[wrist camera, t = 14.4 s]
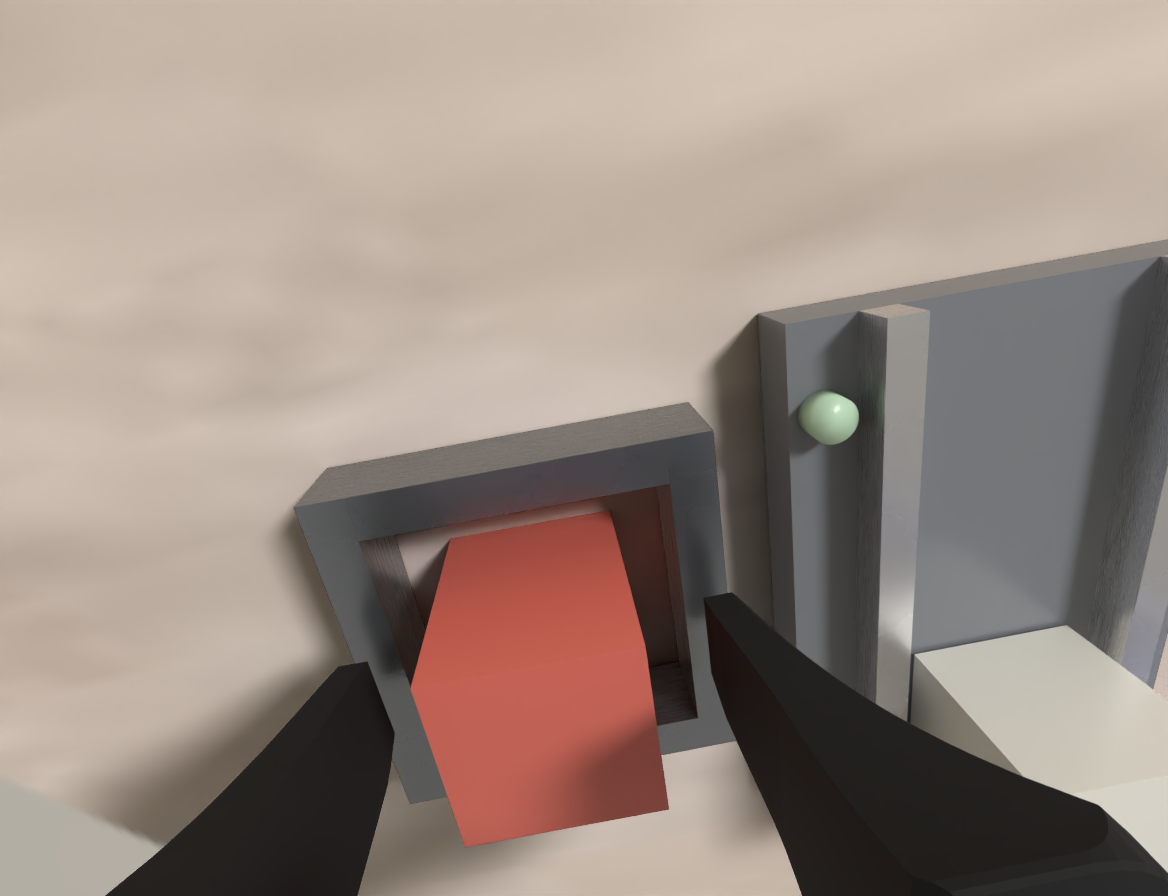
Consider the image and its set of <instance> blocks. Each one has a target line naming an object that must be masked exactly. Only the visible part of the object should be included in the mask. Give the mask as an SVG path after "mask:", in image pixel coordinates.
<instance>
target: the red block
mask: <svg viewBox="0 0 1168 896" xmlns="http://www.w3.org/2000/svg"><path fill="white" fill-rule="evenodd" d="M411 692H412V695H413V698H414V701H415V703H416V706H417V709H418V712H419V715H420V718H421V721H422V724H423V727H424V730H425V732H426V735H427V738H428V741H429V744H430V747H431V750H432V753H433V756H434V759H435V761H436V764H437V767H438V770H439V773H440V776H441V779H442V782H443V785H444V787H445V790H446V793H447V796H448V799H449V802H450V805H451V808H452V811H453V814H454V816H455V819H456V822H457V825H458V828H459V831H460V834H461V837H462V840H463V843H464V845H465V847H470V846H475V845H480V844H486V843H491V842H496V841H502V840H507V839H513V838H518V837H523V836H529V835H534V834H539V833H545V832H550V831H555V830H561V829H566V828H572V827H577V826H582V825H588V824H593V823H598V822H604V821H609V820H615V819H620V818H625V817H631V816H636V815H641V814H647V813H652V812H657V811H663V810H668V809H669V806H668V799H667V792H666V785H665V778H664V771H663V764H662V757H661V750H660V743H659V737H658V730H657V723H656V716H655V709H654V702H653V695H652V688H651V681H650V674H649V667H648V660H647V653H646V646H645V642H644V639H643V635H642V631H641V627H640V623H639V620H638V616H637V612H636V608H635V605H634V601H633V597H632V593H631V589H630V586H629V582H628V578H627V574H626V570H625V567H624V563H623V559H622V555H621V551H620V548H619V544H618V540H617V536H616V532H615V529H614V525H613V521H612V517H611V513H610V511H604V512H598V513H593V514H587V515H581V516H576V517H570V518H565V519H559V520H553V521H548V522H542V523H536V524H531V525H525V526H520V527H514V528H508V529H503V530H497V531H491V532H486V533H480V534H475V535H469V536H463V537H458V538H452V539H450V543H449V546H448V550H447V554H446V558H445V561H444V565H443V569H442V573H441V576H440V580H439V584H438V588H437V591H436V595H435V599H434V603H433V606H432V610H431V614H430V618H429V621H428V625H427V629H426V633H425V636H424V640H423V644H422V648H421V651H420V655H419V659H418V663H417V666H416V670H415V674H414V678H413V681H412V685H411Z"/></svg>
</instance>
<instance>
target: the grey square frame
mask: <svg viewBox="0 0 1168 896" xmlns="http://www.w3.org/2000/svg"><path fill="white" fill-rule="evenodd" d="M650 487H656V488H657V496H658V504H659V511H660V519H661V527H662V534H663V542H664V550H665V557H666V565H667V573H668V580H669V588H670V596H671V603H672V611H673V619H674V626H675V634H676V642H677V649H678V657H679V662H675V663H669V664H664V665H659V666H654V667H649V674H650V681H651V688H652V695H653V702H654V709H655V716H656V723H657V730H658V737H659V743H660V750H661V755H665V754H670V753H676V752H681V751H686V750H691V749H696V748H701V747H707V746H712V745H717V744H722V743H727V742H732V741H736V738H735V736H734V734H733V732H732V730H731V727H730V725H729V723H728V721H727V719H726V716H725V713H724V710H723V707H722V704H721V701H720V698H719V695H718V692H717V689H716V686H715V683H714V680H713V677H712V674H711V666H710V656H709V647H708V637H707V628H706V618H705V609H704V599H703V598H704V597H710V596H715V595H720V594H726V593H727V583H726V572H725V560H724V548H723V537H722V525H721V514H720V502H719V491H718V479H717V468H716V456H715V444H714V433H713V429H712V428H711V427H710V426H709V425H708V424H707V423H706V422H705V420H704V419H703V418H702V417H701V416H700V415H699V414H698V412H697V411H696V410H695V409H694V408H693V407H692V406H691V405H690V403H689V402H686V403H681V404H676V405H670V406H665V407H659V408H654V409H648V410H643V411H637V412H632V413H626V414H621V415H615V416H610V417H605V418H599V419H594V420H588V421H583V422H577V423H572V424H566V425H561V426H555V427H550V428H545V429H539V430H534V431H528V432H523V433H517V434H512V435H506V436H501V437H495V438H490V439H484V440H479V441H474V442H468V443H463V444H457V445H452V446H446V447H441V448H435V449H430V450H424V451H419V452H413V453H408V454H403V455H397V456H392V457H386V458H381V459H375V460H370V461H364V462H359V463H353V464H348V465H342V466H337V467H332V468H327V469H326V470H325V471H324V472H323V474H322V475H321V476H320V477H319V478H318V479H317V481H316V482H315V483H314V484H313V485H312V486H311V488H310V489H309V490H308V491H307V492H306V493H305V495H304V496H303V497H302V498H301V499H300V500H299V502H298V503H297V504H296V505H295V506H294V507H293V508H294V510H295V513H296V515H297V518H298V521H299V523H300V526H301V528H302V531H303V533H304V536H305V538H306V541H307V543H308V546H309V548H310V551H311V554H312V556H313V559H314V561H315V564H316V566H317V569H318V571H319V574H320V576H321V579H322V581H323V584H324V587H325V589H326V592H327V594H328V597H329V599H330V602H331V604H332V607H333V609H334V612H335V614H336V617H337V620H338V622H339V625H340V627H341V630H342V632H343V635H344V637H345V640H346V642H347V645H348V648H349V650H350V653H351V655H352V658H353V660H354V663H355V664H356V663H361V662H366V661H368V664H369V667H370V669H371V672H372V674H373V677H374V680H375V682H376V685H377V688H378V690H379V693H380V695H381V698H382V701H383V703H384V706H385V708H386V711H387V714H388V716H389V719H390V722H391V724H392V727H393V729H394V732H395V737H394V745H393V753H392V759H393V762H394V764H395V767H396V769H397V772H398V775H399V777H400V780H401V782H402V785H403V787H404V790H405V792H406V795H407V797H408V800H409V802H410V804H413V803H418V802H423V801H428V800H433V799H438V798H443V797H448V796H447V793H446V790H445V787H444V785H443V782H442V779H441V776H440V773H439V770H438V767H437V764H436V761H435V759H434V756H433V753H432V750H431V747H430V744H429V741H428V738H427V735H426V732H425V730H424V727H423V724H422V721H421V718H420V715H419V712H418V709H417V706H416V703H415V701H414V698H413V695H412V692H411V685H412V681H413V678H414V674H415V670H416V666H417V663H418V659H419V655H420V651H421V648H422V644H423V640H424V636H425V633H426V630H425V627H424V624H423V621H422V618H421V615H420V612H419V609H418V606H417V603H416V600H415V597H414V594H413V591H412V588H411V585H410V581H409V578H408V575H407V572H406V569H405V566H404V563H403V560H402V557H401V554H400V551H399V548H398V545H397V542H396V539H395V536H394V535H397V534H402V533H408V532H413V531H418V530H424V529H429V528H435V527H440V526H445V525H451V524H456V523H462V522H467V521H472V520H478V519H483V518H488V517H494V516H499V515H505V514H510V513H515V512H521V511H526V510H532V509H537V508H542V507H548V506H553V505H559V504H564V503H569V502H575V501H580V500H585V499H591V498H596V497H602V496H607V495H612V494H618V493H623V492H629V491H634V490H639V489H645V488H650Z"/></svg>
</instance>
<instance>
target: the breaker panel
mask: <svg viewBox="0 0 1168 896" xmlns="http://www.w3.org/2000/svg"><path fill="white" fill-rule="evenodd" d="M758 326H759V345H760V364H761V384H762V403H763V422H764V441H765V460H766V480H767V499H768V518H769V537H770V557H771V576H772V595H773V614H774V630H775V631H776V632H777V633H779V634H780V635H781V636H782V637H783V638H785V639H786V640H787V641H788V642H790V643H791V644H792V645H793V646H795V647H796V648H797V649H798V650H800V651H801V652H802V653H803V654H805V655H806V656H807V657H808V658H810V659H811V660H812V661H814V662H815V663H816V664H818V665H819V666H820V667H822V668H823V669H825V670H826V671H827V672H829V673H830V674H832V675H833V676H834V677H836V678H837V679H839V680H840V681H841V682H843V683H844V684H846V685H847V686H849V687H850V688H852V689H853V690H855V691H856V692H858V693H859V694H861V695H862V696H864V697H866V698H867V699H869V700H870V701H872V702H874V703H875V704H877V705H879V706H880V707H882V708H884V709H885V710H887V711H889V712H890V713H892V714H894V715H896V716H897V717H899V718H901V719H903V720H905V721H906V722H908V723H910V719H911V702H912V686H913V669H914V654H919V653H924V652H929V651H934V650H939V649H945V648H950V647H955V646H960V645H965V644H971V643H976V642H981V641H986V640H991V639H997V638H1002V637H1007V636H1012V635H1017V634H1023V633H1028V632H1033V631H1038V630H1043V629H1049V628H1054V627H1059V626H1064V625H1067V626H1069V627H1070V628H1071V629H1073V630H1074V631H1075V632H1077V633H1078V634H1079V635H1081V636H1082V637H1083V638H1085V639H1086V640H1087V641H1089V642H1090V643H1091V644H1093V645H1094V646H1096V647H1097V648H1098V649H1100V650H1101V651H1102V652H1104V653H1105V654H1106V655H1108V656H1109V657H1110V658H1112V659H1113V660H1114V661H1116V662H1117V663H1118V664H1120V665H1121V666H1122V667H1124V668H1125V669H1126V670H1128V671H1129V672H1130V673H1132V674H1133V675H1134V676H1136V677H1137V678H1138V679H1140V680H1141V681H1142V682H1144V683H1145V684H1146V685H1148V686H1149V687H1150V688H1152V689H1153V688H1154V684H1155V680H1156V676H1157V672H1158V668H1159V665H1160V661H1161V657H1162V653H1163V649H1164V645H1165V641H1166V638H1167V634H1168V240H1163V241H1157V242H1152V243H1146V244H1141V245H1135V246H1130V247H1124V248H1118V249H1113V250H1107V251H1102V252H1096V253H1091V254H1085V255H1080V256H1074V257H1069V258H1063V259H1058V260H1052V261H1047V262H1041V263H1035V264H1030V265H1024V266H1019V267H1013V268H1008V269H1002V270H997V271H991V272H986V273H980V274H975V275H969V276H964V277H958V278H953V279H947V280H941V281H936V282H930V283H925V284H919V285H914V286H908V287H903V288H897V289H892V290H886V291H881V292H875V293H870V294H864V295H858V296H853V297H847V298H842V299H836V300H831V301H825V302H820V303H814V304H809V305H803V306H798V307H792V308H787V309H781V310H775V311H770V312H764V313H759V314H758Z"/></svg>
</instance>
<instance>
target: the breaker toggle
mask: <svg viewBox="0 0 1168 896" xmlns="http://www.w3.org/2000/svg"><path fill="white" fill-rule="evenodd" d="M910 724H912V725H914V726H916V727H918V728H920V729H922V730H924V731H925V732H927V733H929V734H931V735H933V736H935V737H937V738H939V739H941V740H943V741H945V742H947V743H949V744H951V745H953V746H955V747H957V748H959V749H961V750H964V751H966V752H968V753H970V754H972V755H974V756H977V757H979V758H981V759H983V760H986V761H988V762H990V763H993V764H995V765H997V766H999V767H1002V768H1004V769H1006V770H1009V771H1011V772H1013V773H1016V774H1018V775H1020V776H1023V777H1025V778H1028V779H1031V780H1033V781H1036V782H1039V783H1041V784H1044V785H1047V786H1049V787H1052V788H1055V789H1057V790H1060V791H1063V792H1065V793H1068V794H1071V795H1073V796H1076V797H1079V798H1081V799H1084V800H1087V801H1089V802H1092V803H1095V804H1097V805H1099V806H1100V807H1102V808H1103V809H1104V810H1105V811H1106V812H1107V813H1108V814H1109V815H1110V816H1111V817H1112V818H1113V819H1115V820H1116V821H1117V822H1118V823H1119V824H1120V825H1121V826H1122V827H1123V828H1124V829H1126V830H1127V831H1128V832H1129V833H1130V834H1131V835H1132V836H1133V837H1134V838H1135V839H1136V840H1137V841H1138V842H1139V843H1140V844H1141V845H1142V846H1143V847H1144V848H1145V849H1146V850H1147V852H1148V853H1149V854H1150V855H1151V856H1152V857H1153V858H1154V859H1155V860H1156V861H1157V862H1158V863H1159V864H1160V865H1161V866H1162V867H1163V868H1164V869H1165V870H1166V871H1167V872H1168V700H1167V699H1165V698H1164V697H1163V696H1161V695H1160V694H1159V693H1157V692H1156V691H1154V690H1153V689H1152V688H1150V687H1149V686H1148V685H1146V684H1145V683H1144V682H1142V681H1141V680H1140V679H1138V678H1137V677H1136V676H1134V675H1133V674H1132V673H1130V672H1129V671H1128V670H1126V669H1125V668H1124V667H1122V666H1121V665H1120V664H1118V663H1117V662H1116V661H1114V660H1113V659H1112V658H1110V657H1109V656H1108V655H1106V654H1105V653H1104V652H1102V651H1101V650H1100V649H1098V648H1097V647H1096V646H1094V645H1093V644H1091V643H1090V642H1089V641H1087V640H1086V639H1085V638H1083V637H1082V636H1081V635H1079V634H1078V633H1077V632H1075V631H1074V630H1073V629H1071V628H1070V627H1069V626H1067V625H1064V626H1059V627H1054V628H1049V629H1043V630H1038V631H1033V632H1028V633H1023V634H1017V635H1012V636H1007V637H1002V638H997V639H991V640H986V641H981V642H976V643H971V644H965V645H960V646H955V647H950V648H945V649H939V650H934V651H929V652H924V653H919V654H914V669H913V686H912V702H911V719H910Z"/></svg>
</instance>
